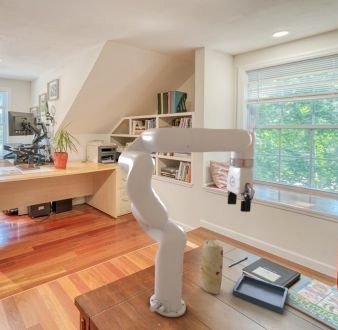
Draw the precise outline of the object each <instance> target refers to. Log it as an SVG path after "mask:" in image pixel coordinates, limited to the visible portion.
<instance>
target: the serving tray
mask: <svg viewBox="0 0 338 330" xmlns="http://www.w3.org/2000/svg"><path fill="white" fill-rule="evenodd" d="M288 294H289V288H288V287H284V286H283V285H278V284H275V283H271V282H269V281H266V280H264V279H261V278H258V277H254V276H251V275H247V274H245V273H242V275H241V277H240V278H239V280H238V281H237V283H236V285H235V286H234V288H233V289H232V296H234V297H236V298H240V299H242V300H244V301H246V302H247V301H248V302H250V303H251V304H255V305H257V306H260V307H262V308H265V309H268V310H270V311H273V312H275V313H278V314H281V315H283V311H284V308H285V305H286V301H287V297H288Z"/></svg>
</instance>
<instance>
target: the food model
mask: <svg viewBox="0 0 338 330" xmlns="http://www.w3.org/2000/svg"><path fill="white" fill-rule="evenodd" d="M223 267H224V249H223V247H222V245H221V244H219V243H218V242H217V241H215V240H213V239H206V240H204V243H203V247H202V251H201V271H200V273H201V275H200V281H201V282H200V283H201V287H202V289H203V290H204V291H205V292H207V293H209V294H213V295H218V294H220V293H221V288H222V283H223V282H222V281H223V269H224V268H223Z"/></svg>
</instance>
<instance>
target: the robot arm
mask: <svg viewBox="0 0 338 330" xmlns="http://www.w3.org/2000/svg"><path fill="white" fill-rule="evenodd" d="M255 147H256V132H255V131H254V130H252V129H244V128H206V127H151V128H147V129H146V130H144V131H143V132H142V133H140V134H139V135H138V136H137V137H136V138H135V139H134V140H133V141H132V142H131V143H130V144H129V145H128V146H127V147H126V148H125V149H124V150H123V151H122V152H121V154H120V155H119V157H118V162H117V163H118V167H119V168H120V170H121V171H122V172H124V173H125V174H127V177H126V181H125V192H126V195H127V197H128V199H129V200H130V202H131V203H130V211H131V214H132V216H133V217H134V218H135V220H136V222H137V223H138V224H139V226H140V227H141V229H142V230H143V231H144V232H145V233H146V235H147V236H148V237H149V238H150V239H151V240H153V241H154V242H155V243H156V244H157V245H158V249H157V252H156V253H155V260H154V294H153V295H151V297H150V299H149V304H150V306H149V311H150V312H152V313H154V312H156V313H157V314H159V315H161V316H164V317H167V318H177V317H180V316H183V315H184V314H185V312H186V309H187V305H186V302H185V301H184V300H183V298H182V297H183V274H184V273H183V272H184V255H185V250H186V247H187V242H188V237H187V233H186V231H185V230H184V228H183V227H181V226H180V225H179V224H177V223H175V222H174V221H173V220H170V219H169V211H168V209H167V207H166V206H165V204H164V203H163V201H162V200H161V198H160V197H159V195H158V194H157V193H156V191H155V189H154V188H153V185H152V178H153V174H154V172H155V168H156V163H155V162H156V161H155V159H154V157H153V156H152V154H153V153H160V154H172V153H174V154H175V153H177V154H178V153H215V152H216V153H218V152H220V153H223V152H227V153H228V152H230V156H229V157H230V159H229V168H228V173H227V179H226V190H227V201H226V202H227V205H237V199H238V198H237V197H238V195H239V196H241V201H240V212H242V213H250V212H251V209H252V208H251V207H252V202H253V199H254V196H255V193H256V191H255V189H254V188H253V187H254V186H253V185H254V172H253V169H254V163H255V161H254V160H255Z"/></svg>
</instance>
